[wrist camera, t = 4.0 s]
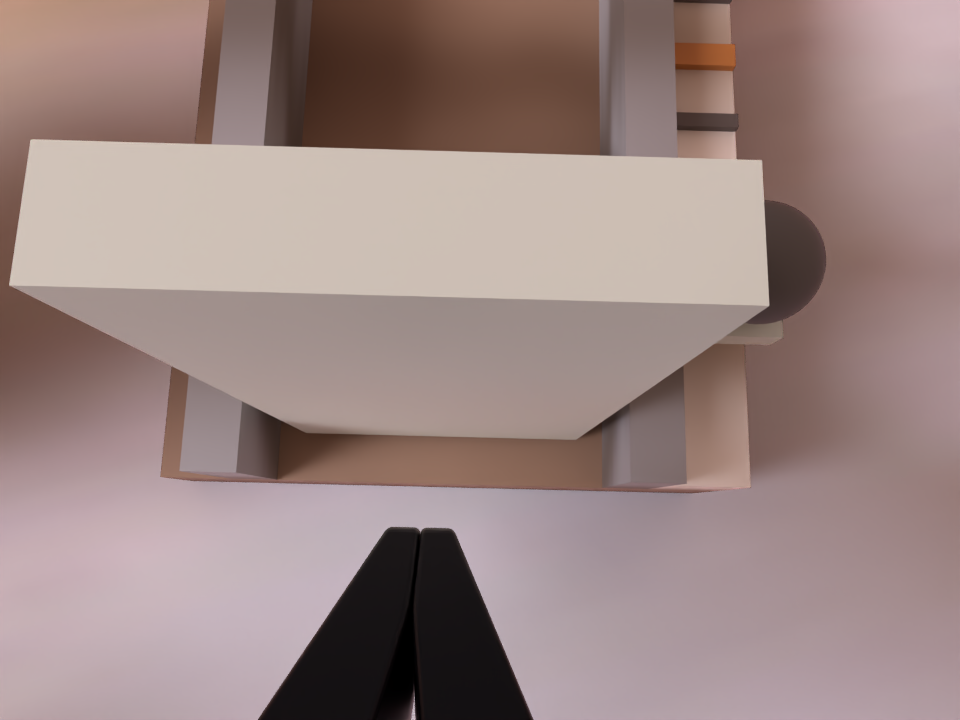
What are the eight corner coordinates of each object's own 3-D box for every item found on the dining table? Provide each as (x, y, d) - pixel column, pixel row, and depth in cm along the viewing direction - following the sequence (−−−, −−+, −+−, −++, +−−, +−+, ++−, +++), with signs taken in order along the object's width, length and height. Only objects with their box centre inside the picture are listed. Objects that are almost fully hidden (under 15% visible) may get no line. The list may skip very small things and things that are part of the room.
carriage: (730, 443, 17) (1203, 317, 6) (306, 433, 17) (8, 284, 6) (722, 224, 18) (1114, -225, 7) (321, 213, 18) (90, -259, 7)
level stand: (691, 493, 19) (770, 485, 14) (192, 480, 19) (94, 469, 14) (673, -144, 22) (731, -331, 17) (253, -158, 22) (192, -349, 17)
